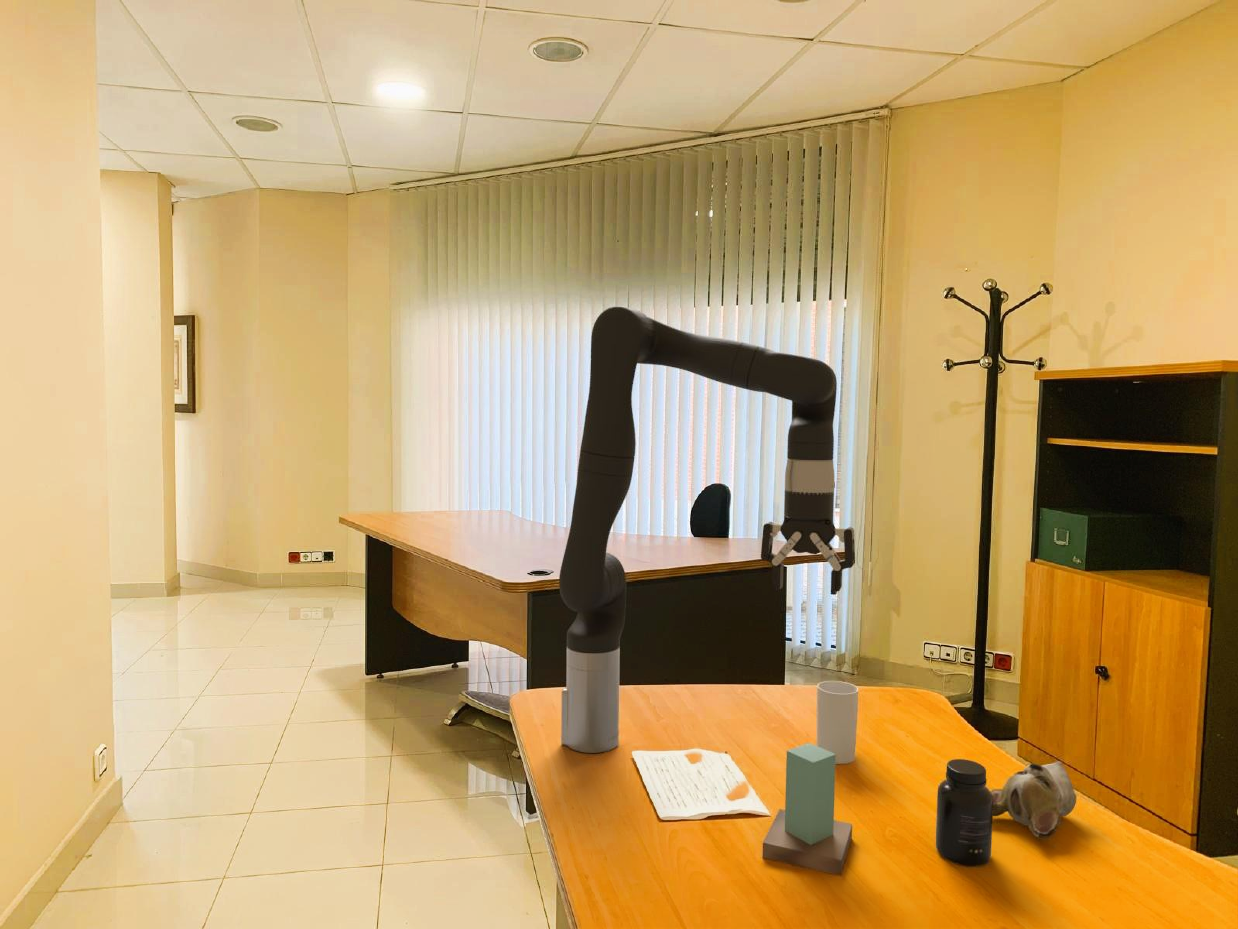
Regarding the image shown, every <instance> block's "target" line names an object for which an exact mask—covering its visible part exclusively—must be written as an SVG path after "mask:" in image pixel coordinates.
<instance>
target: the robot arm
mask: <svg viewBox="0 0 1238 929" xmlns="http://www.w3.org/2000/svg"><path fill="white" fill-rule="evenodd" d="M590 337H591V338H590V339H591V340H590V373H589V375H590V376H589V388H588V390H589V391H588V398H587V404H586V411H585V416H584V423H583V424H584V425H583V430H582V431H583V432H582V437H581V438H582V439H581V443H580V450H579V456H578V457H579V458H578V466H577V477H576V487H575V491H574V492H575V493H574V498H573V499H574V500H573V504H572V505H573V506H572V513H571V520H570V527H569V532H568V536H567V540H566V545H565V549H564V553H563V556H562V562H561V566H560V571H559V578H558V585H559V586H558V587H559V588H558V589H559V594H560V596H561V599H562V601H563V602H564V604H565V606H567V607H568V608H569V609H570V610H571V611H573V612H577V615H576V618H575V619H574V621H573V622H572V623H571V626H570V627H569V628H568V630H567V632H566V681H565V682H566V687H564V688H563V689H562V691H561V726H560V731H561V736H560V737H561V740H560V743H561V745H565V746H566V747H568V748H569V749H572V750H573V751H576V752H582V753H588V754H593V753H594V754H595V753H604V752H605V753H606V752H608V751H610V750H614V749H615V748H616V747H617V746H618V745H619V741H620V739H619V737H620V736H619V735H620V728H619V724H620V654H621V652H620V648H621V647H620V645H621V644H620V643H621V642H620V641H621V636H622V633H623V631H624V627H625V622H626V621H625V620H626V605H627V603H626V602H627V577H626V572H625V569H624V566H623V565H622V563H621V561H620V560H619V559H618V558H617V557H616V556H615V555H614V554H612V553H610V552H607V548H608V543H609V538H610V533H611V530H612V527H613V525H614V522H615V520H616V518H617V516H618V514H619V512H620V510H621V508H622V505H623V504H624V501H625V500H626V498H627V495H628V492H629V490H630V486H631V483H632V477H633V474H634V473H633V472H634V465H635V458H636V445H637V444H636V442H637V441H636V429H635V428H636V427H635V421H634V412H633V403H632V401H633V400H632V396H633V386H634V380H635V374H636V370H637V366H638V364H639V365H640V364H641V365H642V364H643V365H652V366H653V365H655V366H664V367H669V368H674V369H679V370H683V371H687V372H690V373H692V374H695V375H698V376H701V377H704V378H706V379H709V380H712V381H715V382H718V383H721V384H725V385H729V386H732V387H737V388H741V389H744V390H748V391H753V392H757V393H758V392H759V393H767V394H770V395H772V396H776V397H778V398H782V399H785V400H788V401H791V422H790V423H791V424H790V426H789V429H788V434H787V451H786V452H787V454H786V458H787V459H786V466H785V471H784V472H785V473H784V499H783V500H784V504H783V505H784V506H783V507H784V508H783V522H782V523H781V524H778V523H774V522H772V521H769V522H766V523H764V525H763V527H762V535H761V536H762V538H761V539H762V540H761V547H760V550H761V552H760V559H761V560H762V561H766V562H768V563H770V564H771V566H772V567H771V568H772V570H771V571H772V573H771V575H772V576H771V583H772V585H773V586H775V590H781V589H783V586H784V563H783V561H784V560H785V559H786V558H787V557H788V556H789V555H790V553H791V552H792V551H794V552H795V553H797V554H803V553H808V554H810V555H817V554H820V553H821V554H822V556H823V558H824V559H825V560H827V562H828V563H829V566H831V567H832V570H831V572H830V573H831V574H830V595H833V596H834V595H835V596H836V594H838V592H840V590H841V589H842V587H843V586H842V585H843V583H842V582H843V570H847V569H851V568H853V567H854V565H855V563H856V547H855V546H856V545H855V542H856V541H855V530H854V529H855V528H853V527H852V526H851V527H850V526H849V527H847V528H846V527H845V528H836V527H835V524H834V506H835V505H834V504H835V501H834V500H835V499H834V498H835V488H836V481H835V468H834V448H835V446H834V444H835V441H834V440H835V439H834V438H835V436H834V418H835V412H836V404H837V402H836V401H837V390H838V388H837V386H838V385H837V384H838V383H837V377H836V373H835V372H834V370H833V369H832V367H830V366H829V365H828V364H827V363H825V362H824V361H822V360H819V359H816V358H812V357H808V356H802V355H797V354H791V353H785V352H777V351H776V350H775V351H774V350H773V349H769V348H766V347H763V346H759V345H756V344H750V343H747V342H742V341H738V340H734V339H729V338H722V337H716V336H710V335H703V334H699V333H698V334H697V333H694V332H688V331H685V330H682V329H678V328H675V327H673V326H670V325H667V324H666V323H663V322H660V321H658V320H656V319H654V318H651V317H649V316H647V315H646V314H644V313H643V312H642V311H640V310H637V309H634V308H630V307H627V306H622V305H616V306H610V307H608V308H606V309H605V310H603V311H602V312H601V313H600V314H599V316H598V317H597V318H596V320H595V321H594V323H593V327H592V330H591V336H590ZM779 532H781V535H782V536H783V538H784V539H785V541H786V543H785V544H784V545H783V546H782V547H781V549H780V550H779V551H778V552H777V554H775V553H773V544H774V538H775V537H777V535H778V533H779ZM835 536H837V537H838V538H839V541H840V542H841V543H844V545H843V546H844V548H843V549H844V559H840V557H839V556H838V554H837V552H836V551H835V549H834V547H833V546H832V545H831V541H833V539H834V537H835Z"/></svg>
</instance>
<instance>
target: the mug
mask: <svg viewBox="0 0 1238 929" xmlns="http://www.w3.org/2000/svg"><path fill="white" fill-rule="evenodd" d="M816 686H817V687H816V746H817V747H820V748H822V749H824V750H827V751H829V752H832V753H834V754H836V762H835V765H846V764H847V765H848V764H850V763H852V762H854V761H855V759H856V746H857V727H858V726H857V725H858V713H859V712H858V711H859V709H858V708H859V707H858V706H859V688H858V686H857V685H855V684H852V683H850V682H846V681H839V680H826V681H821V682H819V683H817V685H816Z"/></svg>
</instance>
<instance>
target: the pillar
mask: <svg viewBox="0 0 1238 929" xmlns="http://www.w3.org/2000/svg"><path fill="white" fill-rule="evenodd" d="M835 762H836V754H834V753H832V752H829V751H827V750H824V749H822V748H820V747H817V745H815V744H813V743H810V742H809V743H808V742H807V743H805V744H802V745H799V746H796V747H793V748H790V749H788V750H786V763H785V764H786V765H785V766H786V768H785V802H784V804H785V805H784V807H785V809H784V810H785V831H786V832H788V833H790V834H792V835H794V836H795V837H797V838H799V839H801V840H803V841H804V842H806V843H808V844H810V845H812V844H814V843H816V842H819V841H821V840H823V839H825V838H827V837H829V836H832V835H833V829H834V820H835V792H836V791H835V789H836V764H835Z"/></svg>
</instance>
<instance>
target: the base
mask: <svg viewBox="0 0 1238 929" xmlns="http://www.w3.org/2000/svg"><path fill="white" fill-rule="evenodd" d="M852 840H853V823H849V822H845V821H839V820H835V819H834V829H833V835H832V836H829V837H827V838H825V839H823V840H821V841H819V842H816V843H814V844H812V845H810V844H808V843H806V842H804V841H803V840H801V839H799V838H797V837H795V836H794V835H792V834H790V833H788V832H786V831H785V809H781V808H779V810H778V812H777V814H776V815H775V818H774V820H773V822H772V824H771V826H770V828H769V829H768V832H767V833H766V835H765V838H764V840H763V842H762V858H764V859H768V860H772V861H776V862H781V863H785V864H790V865H792V866H793V865H794V866H799V867H803V868H807V869H811V870H815V871H816V870H817V871H820V872H824V873H829V874H833V875H837V876H842V873H843V870H844V867H845V866H844V865H845V863H846V860H847V855H848V852H849V849H850V847H851V843H852V842H851V841H852Z"/></svg>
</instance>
